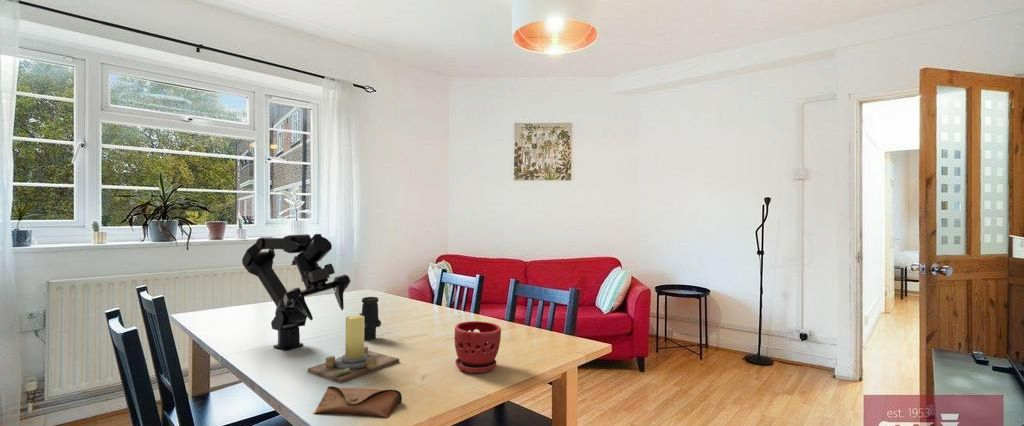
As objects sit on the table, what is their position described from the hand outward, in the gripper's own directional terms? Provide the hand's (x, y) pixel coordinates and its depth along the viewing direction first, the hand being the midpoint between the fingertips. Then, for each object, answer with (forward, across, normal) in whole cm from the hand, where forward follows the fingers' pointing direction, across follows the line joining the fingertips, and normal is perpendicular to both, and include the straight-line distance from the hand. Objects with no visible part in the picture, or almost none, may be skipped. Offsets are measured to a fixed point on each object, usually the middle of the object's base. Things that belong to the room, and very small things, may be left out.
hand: (327, 314), depth 138 cm
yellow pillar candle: (+16, +1, -4) cm, 17 cm away
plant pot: (+35, +26, -18) cm, 48 cm away
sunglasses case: (+32, -10, -25) cm, 42 cm away
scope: (+6, +16, +20) cm, 26 cm away
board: (+18, +1, -3) cm, 18 cm away
